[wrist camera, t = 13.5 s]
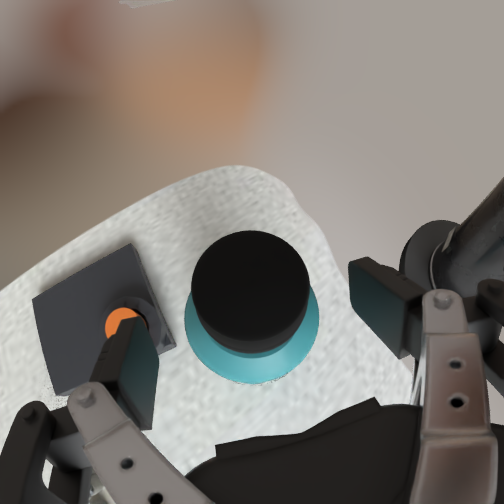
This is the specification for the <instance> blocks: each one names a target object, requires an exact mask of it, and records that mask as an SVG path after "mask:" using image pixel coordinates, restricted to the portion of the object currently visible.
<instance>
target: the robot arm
mask: <svg viewBox="0 0 504 504" xmlns="http://www.w3.org/2000/svg"><path fill="white" fill-rule="evenodd" d="M454 229H455V227H454V228H453V229H452V230H451V231H450V232H449V235H448V237H447V239H446V240H445V241H444V242H442V243H440V244H439V245H438V246H437V247H436V248H435V249H434V251H433V252H432V254H431V257H430V260H429V267H428V273H429V280H430V284H431V287H432V290H431V291H427V290H426V289H424V288H423V287H421V286H420V285H418V284H417V283H415V282H414V281H412V280H411V279H408V277H406V276H405V275H403V274H401V273H400V272H399V271H397V270H396V269H394V268H392V267H388V266H385V265H380V264H378V263H377V262H376V261H374V260H372V259H371V258H369V257H363V258H360V259H357V260H354V261H350V262H349V264H348V273H349V290H350V301H351V305H352V307H353V309H354V311H355V312H356V313H357V315H358V316H359V317H360V318H361V319H362V320H363V321H364V322H365V323H366V324H367V325H368V326H369V327H370V328H371V330H372V331H373V332H374V333H375V334H376V335H377V336H378V337H379V338H380V339H381V340H382V341H383V343H384V344H385V345H386V346H387V347H388V348H389V349H390V350H391V351H392V352H393V353H394V355H395V356H396V357H397V358H398V359H402V358H404V357H406V356H408V355H410V354H411V355H412V356H413V357H414V358H415V359H414V365H413V377H412V387H411V396H410V403H409V404H392V405H384V406H380V404H379V403H378V401H377V400H376V398H375V397H373V398H370V399H368V400H366V401H363V402H361V403H358V404H356V405H353V406H351V407H348V408H346V409H343V410H341V411H338V412H337V413H335V414H333V415H332V416H330V417H328V418H327V419H325V420H324V421H322V422H320V423H318V424H317V425H315V426H313V427H312V428H310V429H308V430H306V431H304V432H302V433H298V434H289V435H276V436H256V437H251V438H247V439H243V440H238V441H233V442H228V443H223V444H217V445H215V449H216V457H213V458H211V459H209V460H207V461H205V462H203V463H201V464H200V465H198V466H197V467H195V468H194V469H192V470H191V471H190V472H189V473H187V474H186V475H185V476H183V475H182V474H181V473H180V472H179V471H178V470H177V469H176V468H175V467H174V466H173V465H172V464H171V463H170V462H169V461H168V460H167V459H166V458H165V457H164V456H163V455H162V454H161V453H160V452H159V451H158V450H157V449H156V447H155V446H154V445H153V444H152V443H151V442H150V441H149V440H148V439H147V438H146V436H145V435H144V434H143V433H142V432H141V431H143V430H152V421H153V411H154V402H155V393H156V385H157V377H158V369H159V357H158V353H157V350H156V348H155V345H154V343H153V341H152V339H151V336H150V334H149V332H148V330H147V327H146V325H145V323H144V320H143V319H142V317H141V316H136V317H131V318H126V319H122V320H121V321H120V323H119V325H118V328H117V330H116V333H115V334H112V335H111V336H110V337H109V338H108V339H107V340H106V342H105V343H104V344H103V347H102V349H101V352H100V353H101V354H99V356H98V359H97V360H98V361H96V364H95V366H94V369H93V371H92V374H91V377H90V379H89V382H88V383H85V384H83V385H81V386H79V387H77V388H76V389H75V390H74V391H73V392H72V393H71V394H70V396H69V398H68V400H67V406H65V407H62V408H59V409H56V410H52V411H50V410H49V409H48V408H47V407H46V405H45V404H44V403H43V402H41V401H32V402H30V403H27V404H26V405H24V406H23V407H22V408H21V409H20V410H19V411H18V413H17V415H16V417H15V419H14V422H13V424H12V426H11V429H10V431H9V434H8V436H7V439H6V441H5V444H4V447H3V449H2V452H1V455H0V504H89V494H90V485H91V476H92V468H93V469H94V471H95V472H96V474H97V476H98V477H99V479H100V480H101V482H102V484H103V485H104V487H105V488H106V490H107V491H108V493H109V495H110V496H111V498H112V499H113V500H114V502H115V503H116V504H504V425H499V424H494V423H490V410H489V398H488V389H487V381H486V379H487V380H488V381H489V382H490V383H491V384H492V385H493V386H494V387H495V388H496V389H497V391H498V392H499V393H500V394H501V395H502V396H503V397H504V344H503V343H502V342H501V341H500V340H499V336H500V332H501V329H502V326H503V327H504V177H503V178H502V179H501V181H500V182H499V183H498V184H497V185H496V187H495V188H494V189H493V190H492V191H491V192H490V194H489V195H488V196H487V197H486V198H485V199H484V200H483V201H482V202H481V204H480V205H479V206H478V207H477V208H476V209H475V210H474V211H473V212H472V213H471V215H469V217H468V218H467V219H466V220H465V221H464V222H463V223H462V224H461V225H460V226H459V227H458V228H457V229H456V230H455V231H454ZM45 459H47V460H48V461H49V462H50V463H51V464H52V465H53V468H52V473H51V477H50V482H49V488H48V489H47V488H46V486H45V485H44V483H43V480H42V472H43V467H44V463H45Z"/></svg>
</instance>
